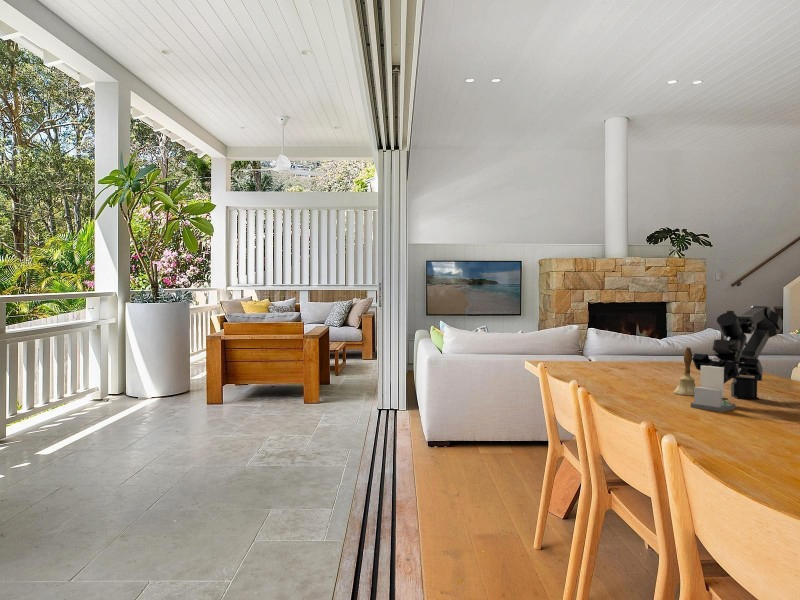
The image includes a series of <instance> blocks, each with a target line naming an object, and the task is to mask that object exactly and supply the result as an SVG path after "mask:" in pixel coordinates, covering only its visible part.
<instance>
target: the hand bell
mask: <svg viewBox="0 0 800 600" xmlns="http://www.w3.org/2000/svg"><path fill="white" fill-rule="evenodd" d="M692 357H693V353H692V349H691V347H688V346H687V347H686V349H685V350H684V353H683V362H684V375H683V376H681V377H679V382H678V385H677V387H676V388H675V389H673V393H674V394H677V395H680V396H681V395H682V396H690V397H691V396H692V397H694V387H697V386H696V382H695V381H696V380H695V378H694V377H692V375H691V364H692V362H693V360H692Z"/></svg>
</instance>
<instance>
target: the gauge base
mask: <svg viewBox="0 0 800 600" xmlns="http://www.w3.org/2000/svg"><path fill="white" fill-rule="evenodd" d="M693 398H694V399H693V402H691V403H690V408H694V409H700V410H707V411H714V412H720V413H724V412H728V411H731V410H734V409H736V403H730V402H729V400H723V405H721V390H718V389H710V388H703V387H700V386H696V387H694V396H693Z"/></svg>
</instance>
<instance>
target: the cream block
mask: <svg viewBox="0 0 800 600" xmlns="http://www.w3.org/2000/svg"><path fill="white" fill-rule="evenodd" d="M699 382H700V384H699V385H700V386H699V387H703V388H710V389H718V390H721V405H723V402H724V401H729V397H724V391H725V390H724V388H725V386H724V384H725V383H724V368H723V367H713V366H703V365H702V366H701V370H700V381H699Z"/></svg>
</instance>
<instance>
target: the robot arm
mask: <svg viewBox="0 0 800 600" xmlns="http://www.w3.org/2000/svg"><path fill="white" fill-rule="evenodd" d="M716 323H717V325H718V328H719V330H720V332H721V335H722V336H723V337H724V339H714V340H713V344H712V350H713V351H714V356H715V357H711V358H710V357H709V355H708V354H707V353H699V352H698V353H696V352H695V353H694V354H692V362H693V364H694V366H695V369H696V370H698V371H701V366H702V365H703V366H713V367H723V368H724V384H726V383H727V382H729V381H730V380H732V382H731V384H730V385H731V387H730V395H731V396H733V397H734V398H737V399H743V400H744V399H747V400H749V399H750V400H760V397H759V396H758V381H759V382H762V381H763V372H764V371H763V370H764V369H763V366H762V364H761V362H760V361H761V360H760V359H759V356H760V355H761V352H763V349H764V348H765V346H766V344H767V342H768V340H769V339H770V338H773V337H775V336H777V335H778V334H779V333H780V332H781V330H782V329H783V326H784V325H783V324H784V323H783V319H782V318H781V316H780V314H778V313H776V312H775V311H773V310H772V309H771V307H769V306H768V305H766V306H765V305H754V306H752V307H751V309H749V310H747V311H746V312H744V313H742V314H736V313H735V311H734V310H726V312H725V313H724V312H723V313H722V314H719V316H717V317H716ZM747 335H751V336H750V337H749V339H748V341H747V338H748V337H747Z"/></svg>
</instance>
